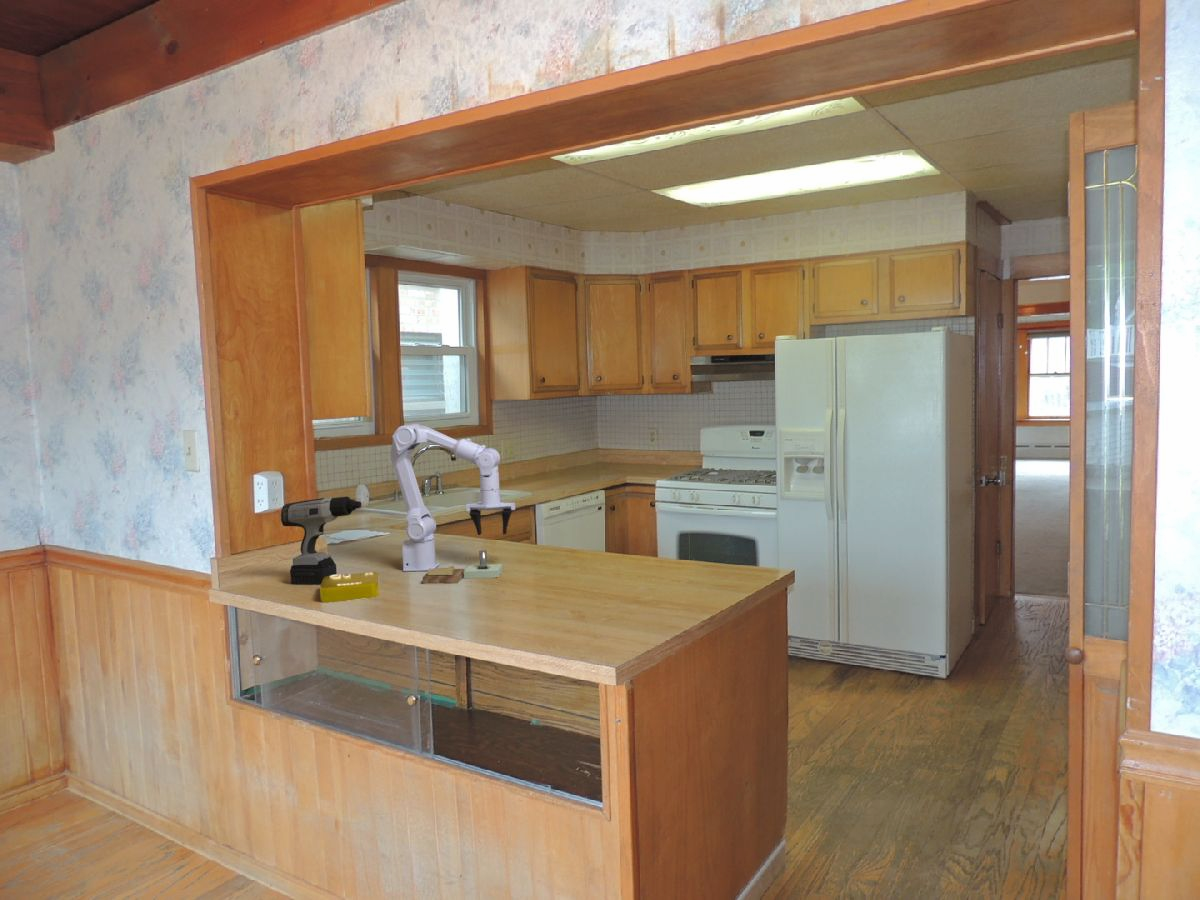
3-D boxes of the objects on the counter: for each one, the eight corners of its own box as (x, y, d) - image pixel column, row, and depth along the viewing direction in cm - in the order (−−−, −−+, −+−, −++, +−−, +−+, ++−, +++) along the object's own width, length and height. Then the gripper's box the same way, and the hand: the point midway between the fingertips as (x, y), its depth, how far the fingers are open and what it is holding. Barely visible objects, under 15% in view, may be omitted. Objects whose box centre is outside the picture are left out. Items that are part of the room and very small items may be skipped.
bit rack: (464, 578, 247) (463, 571, 247) (469, 571, 255) (469, 565, 255) (498, 577, 247) (498, 570, 247) (503, 570, 255) (502, 564, 254)
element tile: (320, 605, 226) (318, 587, 226) (324, 591, 241) (323, 574, 240) (378, 599, 230) (377, 581, 229) (379, 585, 244) (378, 569, 244)
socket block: (423, 583, 243) (422, 577, 242) (431, 576, 252) (430, 569, 251) (458, 583, 242) (457, 576, 242) (464, 575, 251) (464, 568, 251)
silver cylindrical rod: (479, 575, 250) (478, 552, 249) (480, 573, 252) (479, 550, 251) (486, 575, 250) (485, 551, 249) (488, 573, 252) (487, 550, 251)
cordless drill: (359, 585, 244) (353, 498, 241) (281, 584, 249) (274, 499, 246) (371, 578, 251) (366, 494, 249) (296, 577, 256) (289, 495, 254)
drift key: (427, 575, 243) (427, 568, 242) (429, 573, 245) (429, 566, 245) (452, 575, 242) (452, 568, 242) (454, 573, 244) (454, 566, 244)
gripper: (463, 491, 253) (465, 537, 254) (511, 490, 252) (514, 536, 253) (468, 488, 260) (470, 532, 261) (515, 487, 259) (517, 531, 260)
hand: (492, 534), depth 258 cm, fingers open, 7 cm apart
